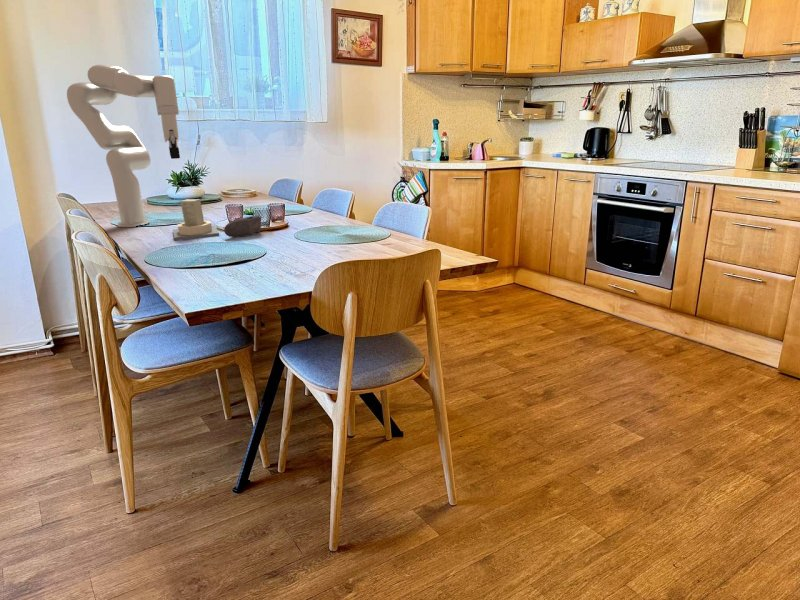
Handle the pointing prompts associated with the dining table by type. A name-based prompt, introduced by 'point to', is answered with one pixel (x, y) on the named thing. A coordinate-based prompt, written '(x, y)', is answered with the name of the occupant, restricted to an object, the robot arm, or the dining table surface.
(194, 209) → the skincare box
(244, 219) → the perforated stone tool
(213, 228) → the collar board
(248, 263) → the dining table surface
